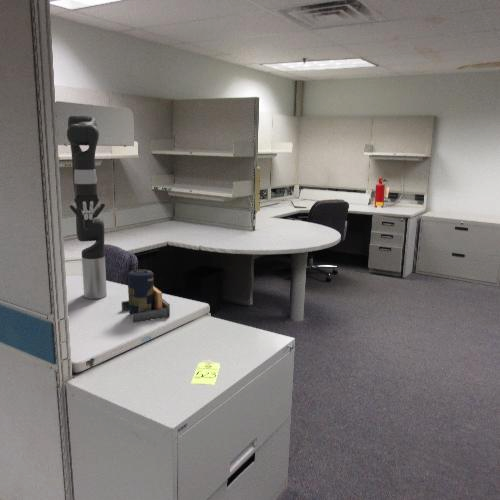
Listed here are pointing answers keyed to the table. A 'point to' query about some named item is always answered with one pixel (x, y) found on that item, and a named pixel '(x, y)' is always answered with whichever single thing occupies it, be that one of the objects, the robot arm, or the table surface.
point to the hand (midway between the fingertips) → (88, 229)
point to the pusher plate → (157, 299)
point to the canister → (140, 290)
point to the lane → (148, 312)
